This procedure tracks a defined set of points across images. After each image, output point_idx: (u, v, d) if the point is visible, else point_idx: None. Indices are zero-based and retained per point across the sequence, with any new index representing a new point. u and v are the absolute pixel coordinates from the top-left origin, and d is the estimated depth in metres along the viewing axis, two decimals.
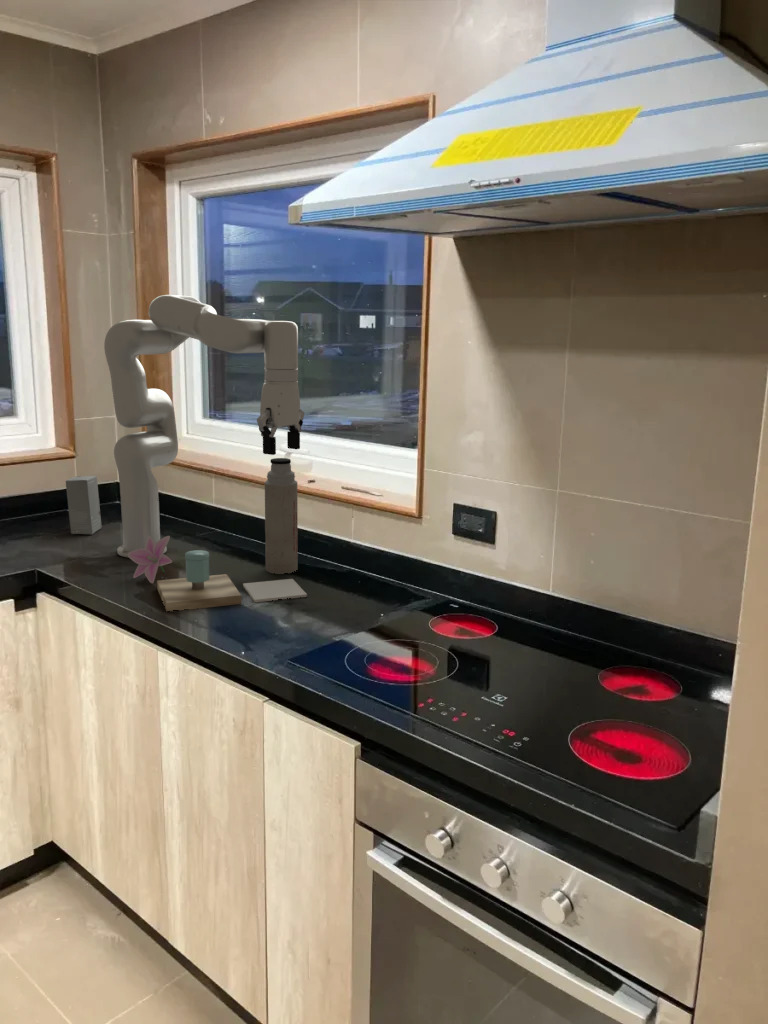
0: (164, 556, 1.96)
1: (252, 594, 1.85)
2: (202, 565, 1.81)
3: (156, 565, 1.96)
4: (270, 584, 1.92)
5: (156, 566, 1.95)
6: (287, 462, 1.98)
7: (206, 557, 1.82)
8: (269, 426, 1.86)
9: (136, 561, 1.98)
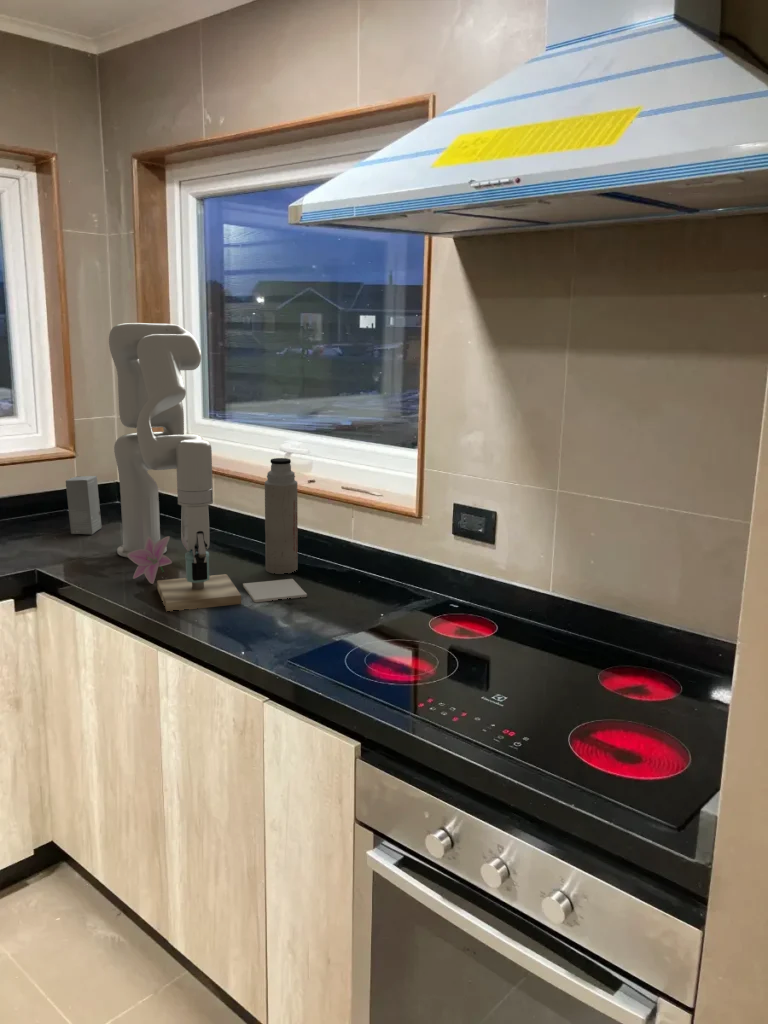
0: (164, 557, 1.96)
1: (252, 594, 1.85)
2: None
3: (156, 566, 1.95)
4: (270, 584, 1.92)
5: (156, 567, 1.95)
6: (287, 462, 1.98)
7: (206, 557, 1.82)
8: (198, 551, 1.80)
9: (136, 562, 1.97)
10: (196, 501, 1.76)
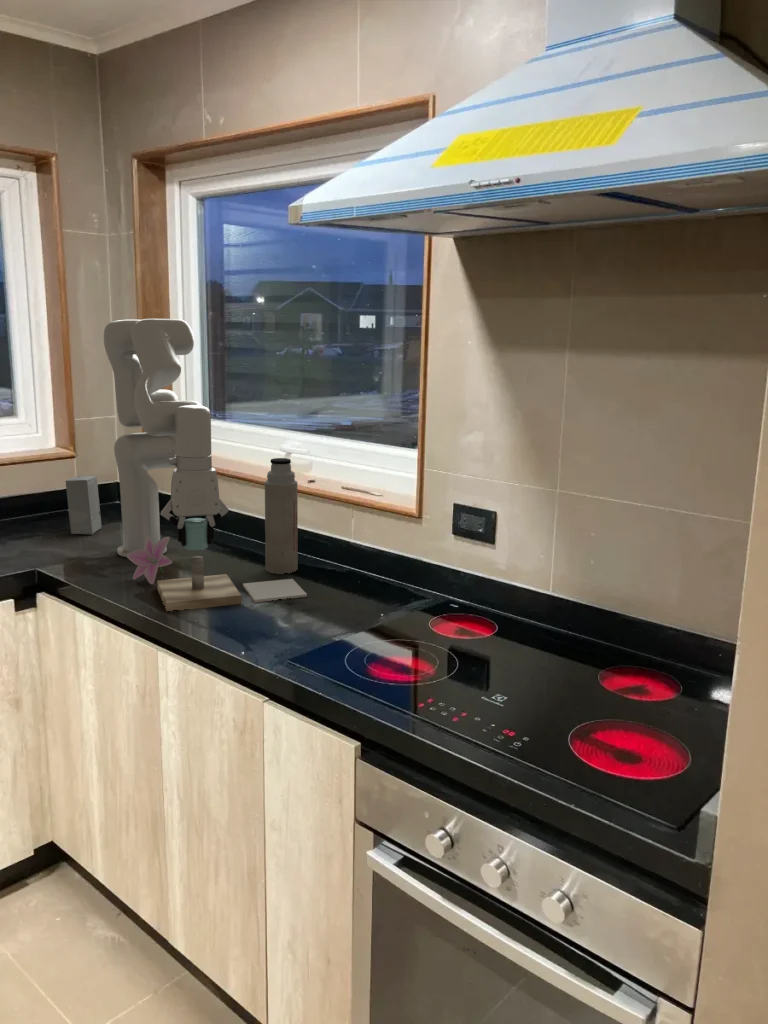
0: (164, 557, 1.95)
1: (252, 594, 1.85)
2: None
3: (156, 566, 1.95)
4: (270, 584, 1.92)
5: (156, 567, 1.95)
6: (287, 462, 1.98)
7: None
8: None
9: (135, 562, 1.97)
10: (211, 464, 1.79)
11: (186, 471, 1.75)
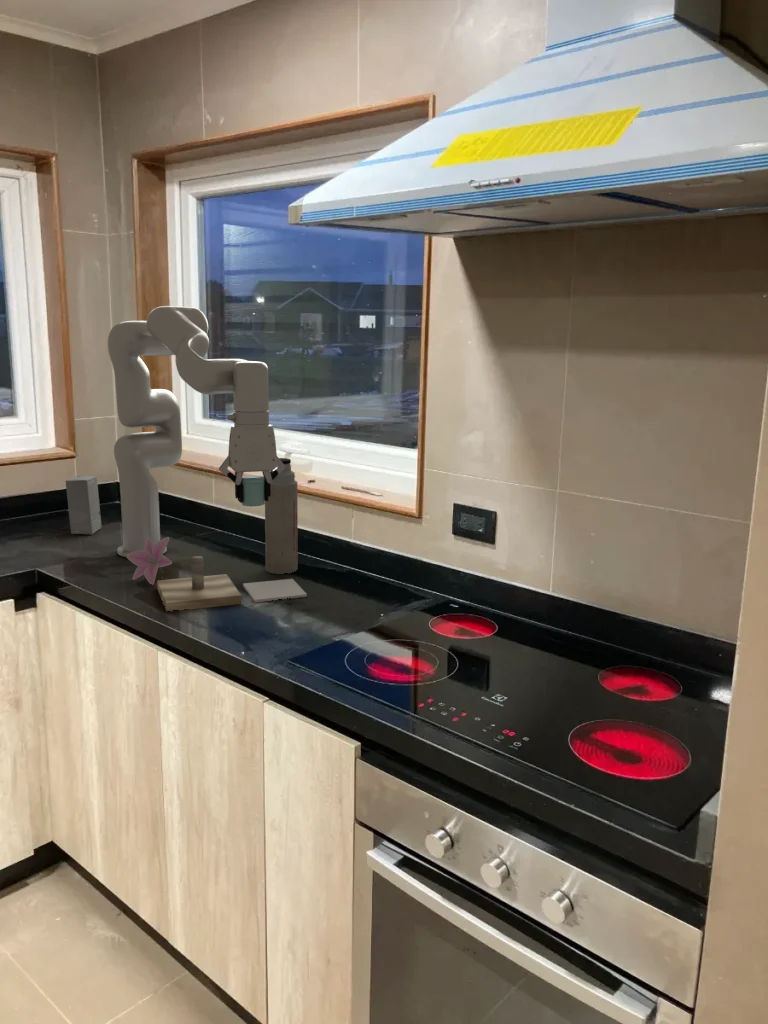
0: (164, 557, 1.95)
1: (252, 594, 1.85)
2: None
3: (156, 566, 1.95)
4: (270, 584, 1.92)
5: (156, 567, 1.94)
6: (287, 462, 1.98)
7: None
8: None
9: (135, 563, 1.97)
10: None
11: (244, 426, 1.76)
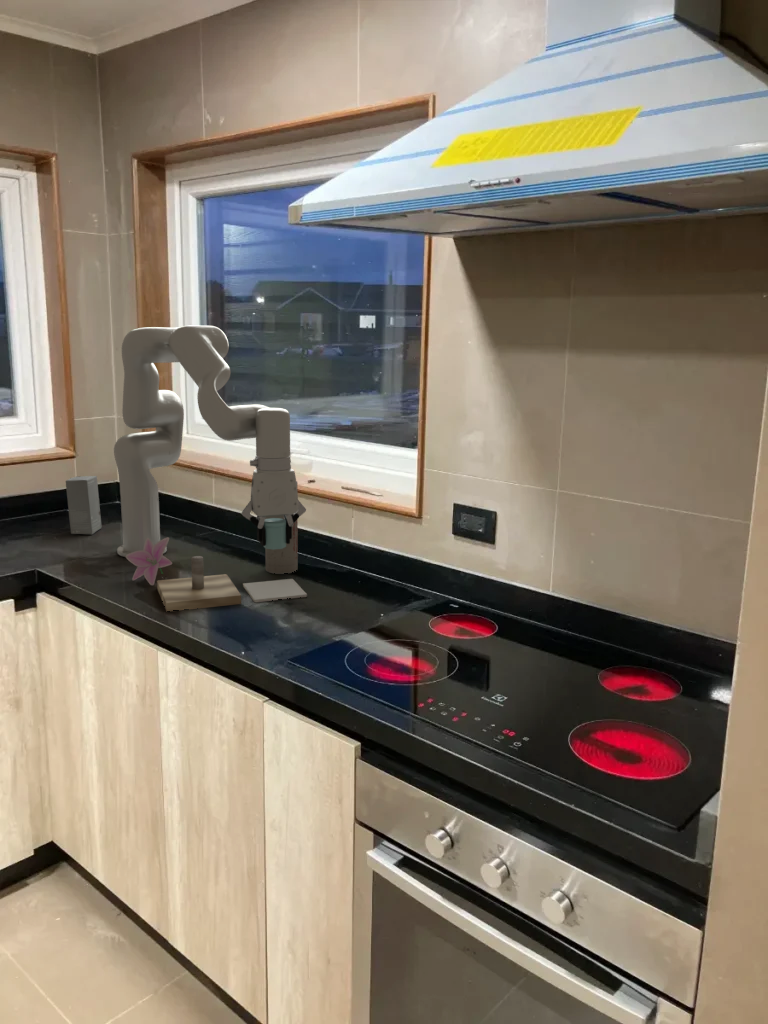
0: (164, 558, 1.95)
1: (252, 594, 1.85)
2: None
3: (156, 567, 1.94)
4: (270, 584, 1.92)
5: (156, 568, 1.94)
6: None
7: None
8: None
9: (135, 563, 1.96)
10: None
11: (267, 472, 1.79)
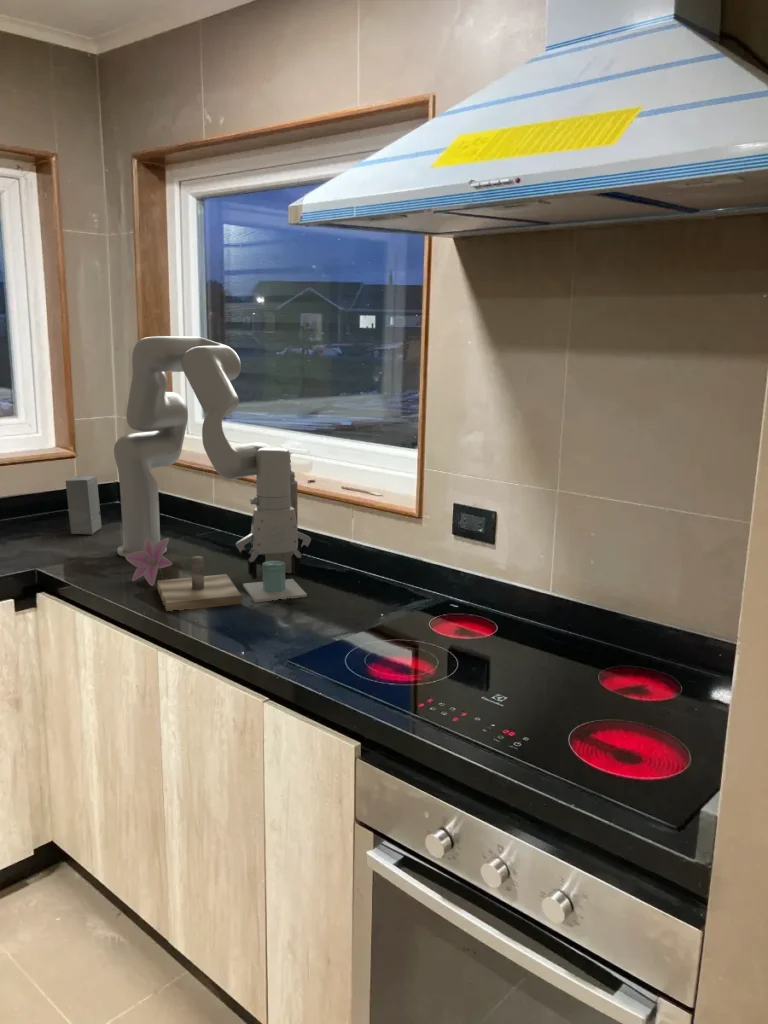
0: (164, 558, 1.94)
1: (252, 594, 1.85)
2: None
3: (156, 567, 1.94)
4: None
5: (156, 568, 1.93)
6: None
7: None
8: None
9: (134, 564, 1.96)
10: None
11: (267, 510, 1.81)
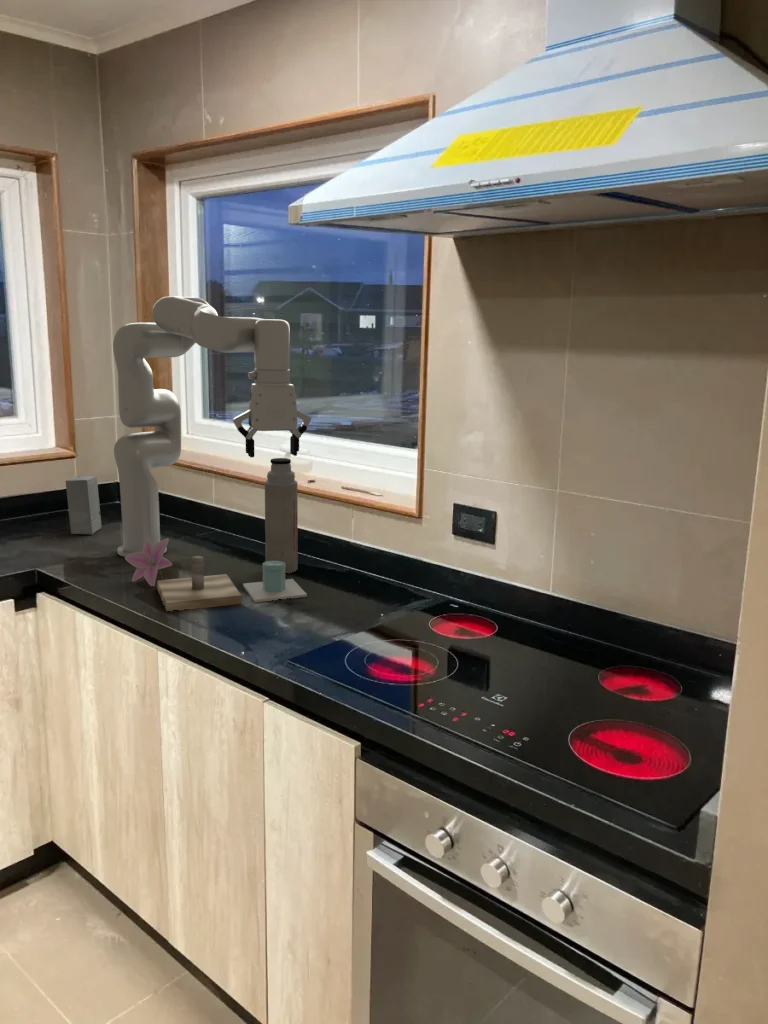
0: (164, 559, 1.94)
1: (252, 594, 1.85)
2: None
3: (156, 568, 1.93)
4: None
5: (156, 569, 1.93)
6: (287, 462, 1.98)
7: None
8: None
9: (134, 564, 1.95)
10: None
11: (266, 384, 1.75)
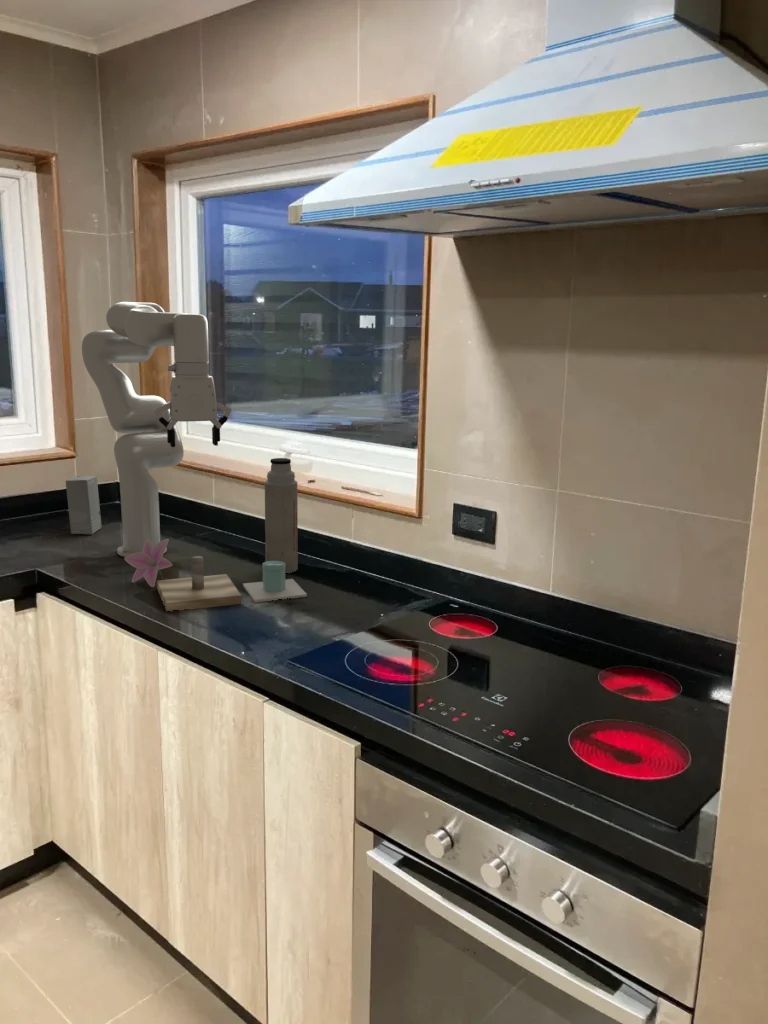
0: (163, 559, 1.93)
1: (252, 594, 1.85)
2: None
3: (156, 569, 1.93)
4: None
5: (156, 570, 1.93)
6: (287, 462, 1.98)
7: None
8: None
9: (134, 565, 1.95)
10: None
11: (184, 376, 1.82)
